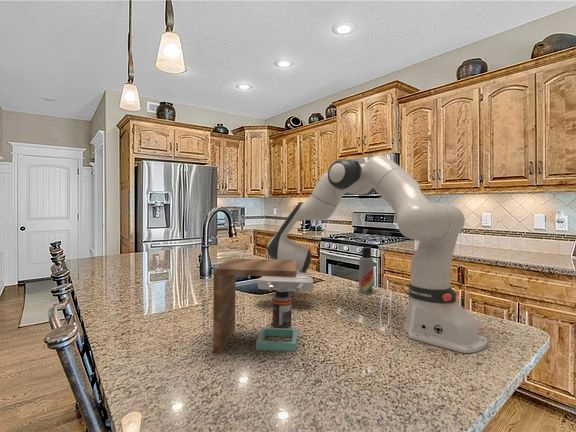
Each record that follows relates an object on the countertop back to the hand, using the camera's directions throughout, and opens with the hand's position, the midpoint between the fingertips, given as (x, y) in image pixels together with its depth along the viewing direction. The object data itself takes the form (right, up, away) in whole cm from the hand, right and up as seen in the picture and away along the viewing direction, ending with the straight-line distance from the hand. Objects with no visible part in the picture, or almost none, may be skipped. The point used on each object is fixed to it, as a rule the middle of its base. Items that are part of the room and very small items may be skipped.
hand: (284, 289), depth 117 cm
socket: (-2, -9, -24) cm, 26 cm away
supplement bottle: (-1, -9, -11) cm, 14 cm away
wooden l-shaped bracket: (-7, -9, -24) cm, 26 cm away
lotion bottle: (+35, -8, +29) cm, 46 cm away
